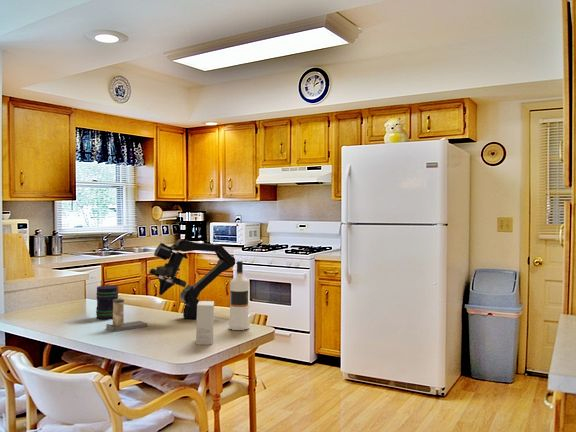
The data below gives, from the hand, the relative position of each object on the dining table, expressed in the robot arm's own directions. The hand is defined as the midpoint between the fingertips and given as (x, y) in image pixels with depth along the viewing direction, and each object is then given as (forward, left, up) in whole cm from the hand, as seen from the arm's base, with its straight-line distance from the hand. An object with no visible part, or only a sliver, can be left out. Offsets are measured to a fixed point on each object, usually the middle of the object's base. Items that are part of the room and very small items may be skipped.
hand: (160, 294), depth 230 cm
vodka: (-39, +12, -13) cm, 43 cm away
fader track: (+10, +15, -12) cm, 22 cm away
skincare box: (-29, +36, -13) cm, 48 cm away
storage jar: (+27, -4, -13) cm, 30 cm away
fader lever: (+13, +18, -10) cm, 24 cm away
